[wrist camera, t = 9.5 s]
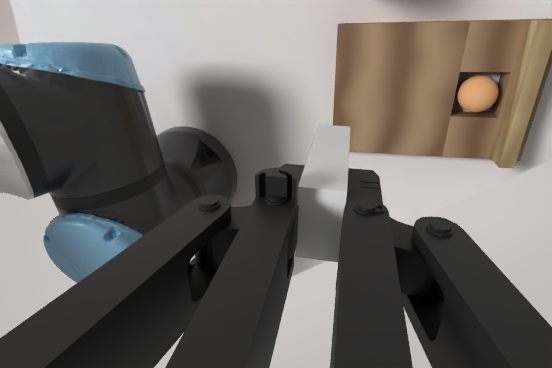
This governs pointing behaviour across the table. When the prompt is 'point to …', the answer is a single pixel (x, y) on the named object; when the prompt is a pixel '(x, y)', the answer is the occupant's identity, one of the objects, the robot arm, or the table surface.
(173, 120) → the table surface
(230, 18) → the table surface
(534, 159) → the table surface
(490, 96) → the ball
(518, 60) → the wooden board
